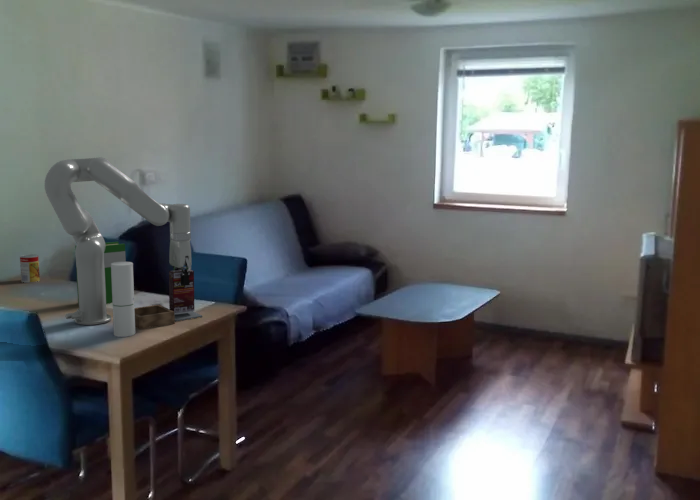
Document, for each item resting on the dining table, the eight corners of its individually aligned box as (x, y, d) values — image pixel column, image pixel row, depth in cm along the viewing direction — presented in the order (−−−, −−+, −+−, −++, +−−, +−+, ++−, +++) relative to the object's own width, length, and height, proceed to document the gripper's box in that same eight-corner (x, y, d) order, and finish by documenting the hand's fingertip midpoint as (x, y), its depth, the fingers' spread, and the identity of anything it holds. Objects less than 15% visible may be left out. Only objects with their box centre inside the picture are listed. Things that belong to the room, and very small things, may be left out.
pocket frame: (139, 329, 245) (139, 317, 244) (125, 321, 255) (124, 309, 254) (174, 323, 253) (174, 311, 253) (159, 315, 264) (159, 304, 263)
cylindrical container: (137, 331, 243) (135, 261, 239) (132, 336, 236) (129, 265, 232) (117, 330, 243) (114, 261, 239) (111, 336, 236) (108, 265, 232)
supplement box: (173, 314, 259) (172, 272, 256) (169, 311, 263) (167, 270, 260) (195, 311, 263) (194, 270, 261) (190, 308, 267) (189, 268, 265)
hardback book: (119, 297, 292) (117, 241, 288) (127, 300, 287) (125, 243, 283) (78, 303, 281) (75, 245, 277) (84, 306, 275) (81, 247, 271)
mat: (175, 321, 256) (175, 320, 256) (163, 315, 264) (163, 313, 264) (202, 317, 263) (202, 315, 262) (189, 311, 271) (189, 309, 271)
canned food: (43, 279, 324) (41, 254, 322) (33, 283, 316) (32, 257, 315) (27, 279, 325) (26, 254, 323) (17, 282, 318) (16, 256, 316)
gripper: (161, 234, 262) (162, 281, 265) (181, 240, 249) (182, 289, 252) (179, 233, 267) (181, 279, 270) (200, 238, 254) (200, 286, 257)
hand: (181, 283), depth 261 cm, fingers closed on supplement box, 5 cm apart
